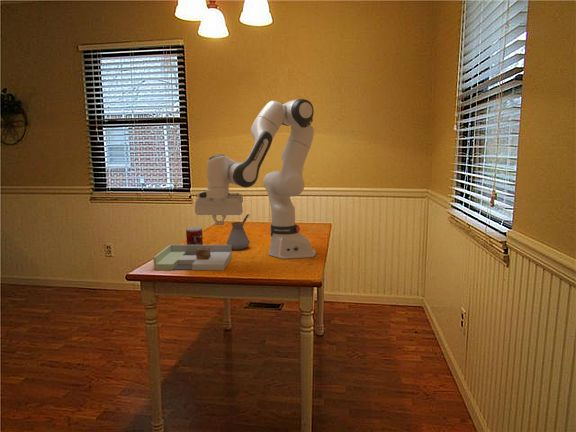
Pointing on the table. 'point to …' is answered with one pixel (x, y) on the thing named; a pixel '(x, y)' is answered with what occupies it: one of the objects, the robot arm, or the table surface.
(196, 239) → the canned food
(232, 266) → the table surface
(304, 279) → the table surface
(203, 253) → the walnut block
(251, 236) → the table surface
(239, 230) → the coffee pot
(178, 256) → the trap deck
